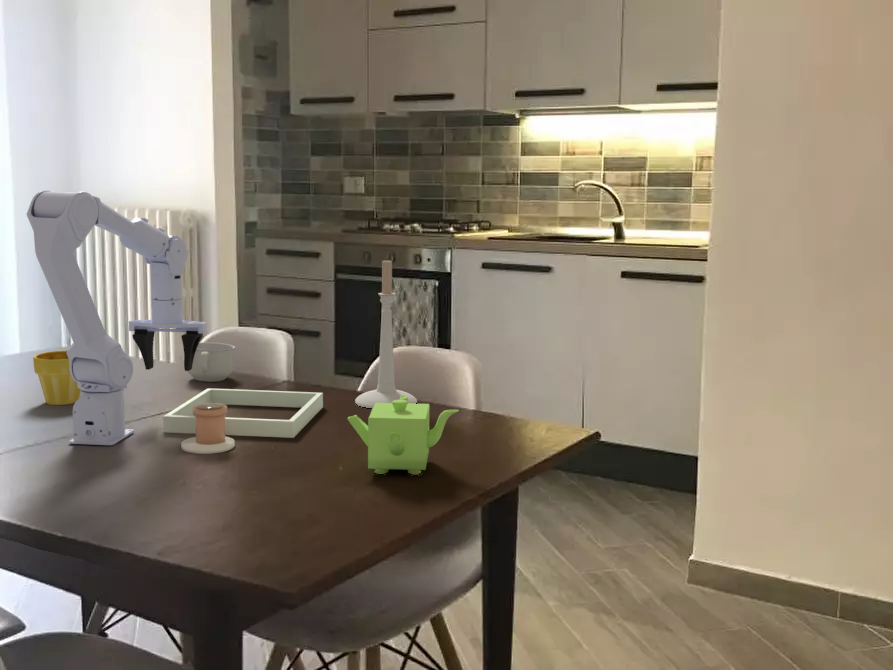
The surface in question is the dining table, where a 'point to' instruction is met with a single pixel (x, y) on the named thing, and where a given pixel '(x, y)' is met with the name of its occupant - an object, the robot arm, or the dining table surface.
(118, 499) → the dining table surface
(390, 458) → the kettle
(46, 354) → the plant pot
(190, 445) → the saucer
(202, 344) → the teacup
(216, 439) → the terracotta pot
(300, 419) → the rectangular frame
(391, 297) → the candlestick
